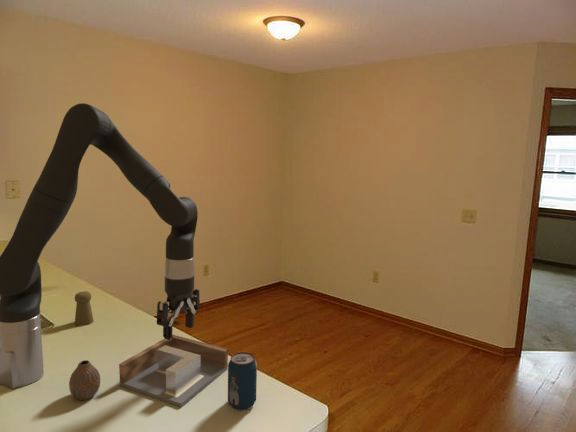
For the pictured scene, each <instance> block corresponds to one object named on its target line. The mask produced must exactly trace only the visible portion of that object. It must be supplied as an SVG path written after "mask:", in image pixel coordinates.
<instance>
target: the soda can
mask: <svg viewBox="0 0 576 432" xmlns="http://www.w3.org/2000/svg"><path fill="white" fill-rule="evenodd" d="M257 367H258V363H257V361H256V358H255V356H254V354H252V353H251V352H248V351H247V352H246V351H239V352H236V353H233V354H232V355H231V356H230V360H229V361H228V369H227V402H228V404H229V406H230V408H232V409H234V411H239V412H241V411H247V410H249V409H251V408H252V407H253V406H254V404H255V403H256V401H257V378H258V377H257V375H258V374H257V373H258V371H257V369H258V368H257Z"/></svg>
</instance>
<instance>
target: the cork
mask: <svg viewBox="0 0 576 432" xmlns="http://www.w3.org/2000/svg"><path fill="white" fill-rule="evenodd" d="M91 300H92V293H91V292H90V291H87V290H86V291H80V292H77V293H76V294H75V295H74V301H75V303H76V305H75V315H74V325H75V326H77V327H84V326H88V325H91V324H93V323H94V322H95V321H94V317H93V316H94V315H93V311H92V306H91Z"/></svg>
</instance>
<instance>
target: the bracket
mask: <svg viewBox="0 0 576 432" xmlns="http://www.w3.org/2000/svg"><path fill="white" fill-rule="evenodd" d="M158 371H162V372H165V373H166V392H167V393H170V394H173V395H177V394H178V393H179V392H181V391H182V390H183V389H185V388H186V387H187V386H188V385H190V384H191V383H192V382H194V381H195V380H196V379H197V378H199V377H200V376H201V355H198V354H195V353H191V352H187V351H184V350H180V349H177V348H173V347H170V346H166V345H165V346H163V347H162V348H160V349H158Z"/></svg>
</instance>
